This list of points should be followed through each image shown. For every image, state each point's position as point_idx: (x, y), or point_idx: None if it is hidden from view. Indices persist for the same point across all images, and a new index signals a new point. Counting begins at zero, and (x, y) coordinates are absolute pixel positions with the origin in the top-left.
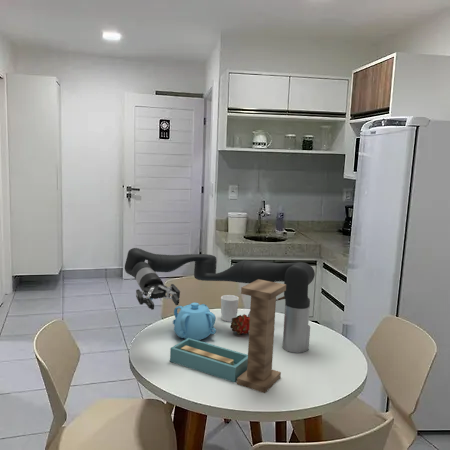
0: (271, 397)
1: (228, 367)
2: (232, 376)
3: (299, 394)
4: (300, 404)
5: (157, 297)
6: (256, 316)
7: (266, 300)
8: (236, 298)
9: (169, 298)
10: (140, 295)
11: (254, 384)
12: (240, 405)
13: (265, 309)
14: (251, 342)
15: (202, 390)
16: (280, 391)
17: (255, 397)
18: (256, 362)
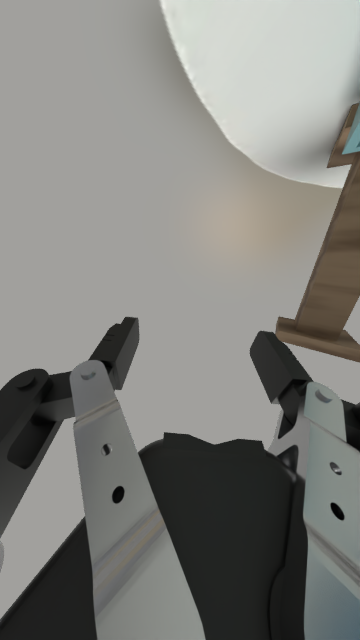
0: (320, 162)
1: (350, 135)
2: (356, 112)
3: None
4: (320, 181)
5: (195, 443)
6: (308, 291)
7: (296, 316)
8: None
9: (303, 412)
10: (28, 450)
11: (332, 154)
12: (263, 157)
13: (301, 303)
14: (330, 237)
15: (259, 88)
16: None
17: (305, 153)
18: (343, 194)
